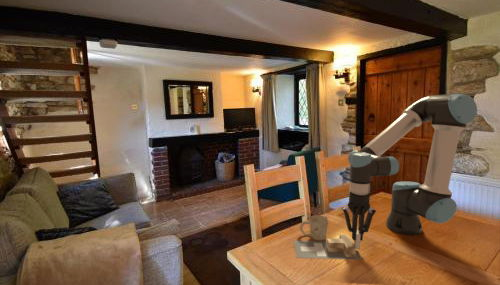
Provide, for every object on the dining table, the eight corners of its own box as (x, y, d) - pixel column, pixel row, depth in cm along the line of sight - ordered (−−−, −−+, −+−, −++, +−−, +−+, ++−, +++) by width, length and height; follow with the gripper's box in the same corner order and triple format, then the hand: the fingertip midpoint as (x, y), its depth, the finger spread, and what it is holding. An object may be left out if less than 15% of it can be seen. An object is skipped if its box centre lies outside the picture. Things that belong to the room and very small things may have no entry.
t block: (347, 243, 111) (347, 234, 110) (355, 257, 101) (355, 247, 100) (325, 243, 112) (325, 234, 111) (330, 256, 102) (330, 247, 101)
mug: (328, 245, 112) (329, 224, 111) (299, 243, 115) (299, 221, 113) (326, 236, 120) (327, 215, 119) (299, 233, 123) (299, 214, 121)
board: (351, 245, 112) (351, 241, 112) (361, 263, 99) (361, 259, 99) (293, 243, 114) (293, 240, 114) (296, 261, 101) (296, 257, 101)
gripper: (372, 189, 105) (369, 242, 109) (340, 188, 106) (338, 242, 110) (380, 195, 98) (376, 252, 101) (345, 195, 99) (343, 251, 102)
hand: (356, 247), depth 105 cm, fingers closed
